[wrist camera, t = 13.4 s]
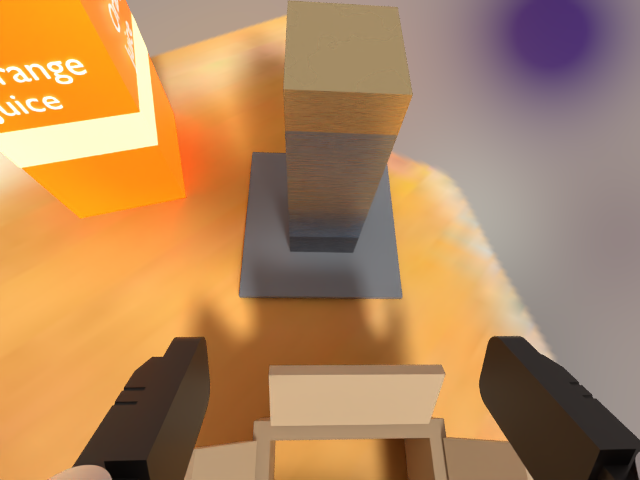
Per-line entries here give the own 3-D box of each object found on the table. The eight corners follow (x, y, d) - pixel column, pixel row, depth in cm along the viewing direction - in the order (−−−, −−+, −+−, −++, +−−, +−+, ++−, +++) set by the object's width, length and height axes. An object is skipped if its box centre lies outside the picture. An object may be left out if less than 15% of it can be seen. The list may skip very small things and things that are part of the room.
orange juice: (78, 219, 25) (-494, -262, 7) (79, 128, 28) (-299, -348, 10) (188, 197, 26) (-48, -254, 8) (176, 113, 30) (-8, -332, 12)
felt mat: (240, 297, 23) (239, 295, 23) (253, 155, 28) (252, 152, 28) (400, 298, 24) (402, 297, 23) (385, 159, 29) (386, 156, 29)
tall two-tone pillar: (290, 251, 24) (283, 89, 12) (291, 192, 26) (287, 0, 14) (353, 252, 25) (412, 94, 12) (349, 193, 27) (397, 7, 14)
